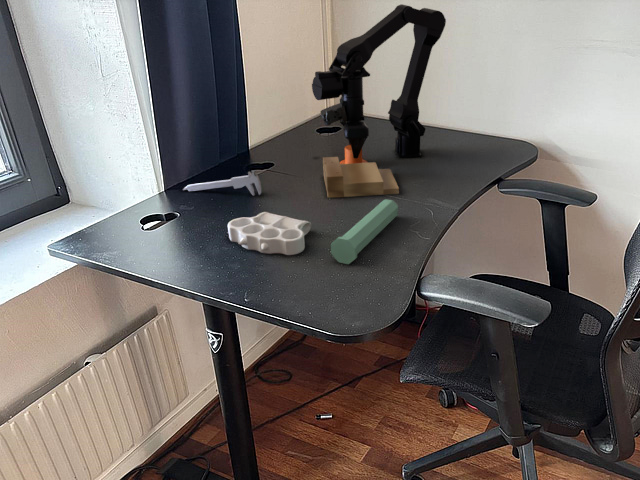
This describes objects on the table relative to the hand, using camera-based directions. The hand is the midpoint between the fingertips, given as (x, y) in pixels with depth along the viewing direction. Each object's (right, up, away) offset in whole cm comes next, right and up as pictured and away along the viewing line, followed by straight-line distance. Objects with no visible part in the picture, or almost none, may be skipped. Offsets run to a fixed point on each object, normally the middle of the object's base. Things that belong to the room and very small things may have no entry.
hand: (353, 152), depth 170 cm
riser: (+3, -11, -10) cm, 15 cm away
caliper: (-32, -14, -16) cm, 38 cm away
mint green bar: (+6, -28, -36) cm, 45 cm away
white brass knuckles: (-15, -28, -37) cm, 49 cm away
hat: (0, -3, +2) cm, 4 cm away
